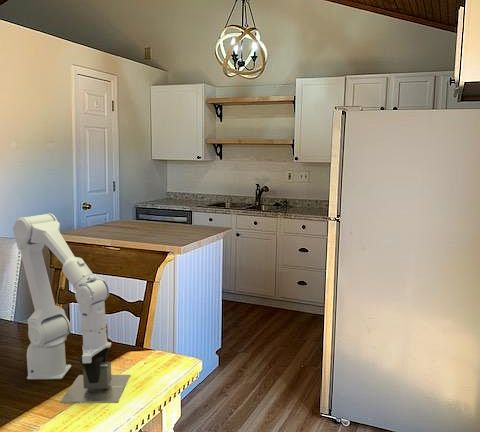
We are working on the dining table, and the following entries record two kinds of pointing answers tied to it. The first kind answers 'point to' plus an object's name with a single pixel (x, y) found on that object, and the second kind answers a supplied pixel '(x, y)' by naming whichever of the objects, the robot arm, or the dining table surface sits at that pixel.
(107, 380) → the striped grey block
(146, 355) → the dining table surface
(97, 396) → the grey flat square slab
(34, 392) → the dining table surface
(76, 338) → the dining table surface
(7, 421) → the dining table surface
